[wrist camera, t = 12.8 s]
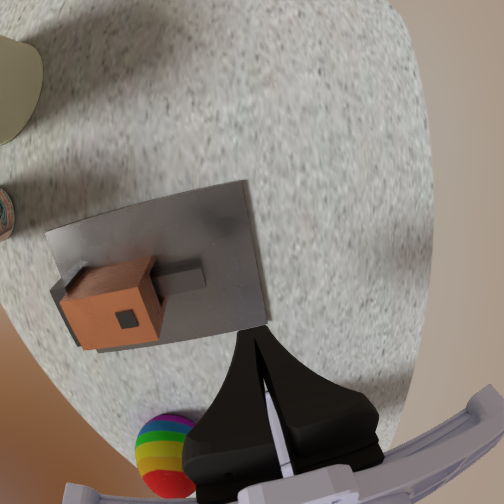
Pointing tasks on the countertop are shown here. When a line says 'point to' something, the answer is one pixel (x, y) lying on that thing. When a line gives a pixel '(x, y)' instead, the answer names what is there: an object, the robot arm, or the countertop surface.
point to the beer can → (6, 216)
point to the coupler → (174, 259)
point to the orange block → (115, 306)
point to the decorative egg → (164, 456)
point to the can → (18, 85)
